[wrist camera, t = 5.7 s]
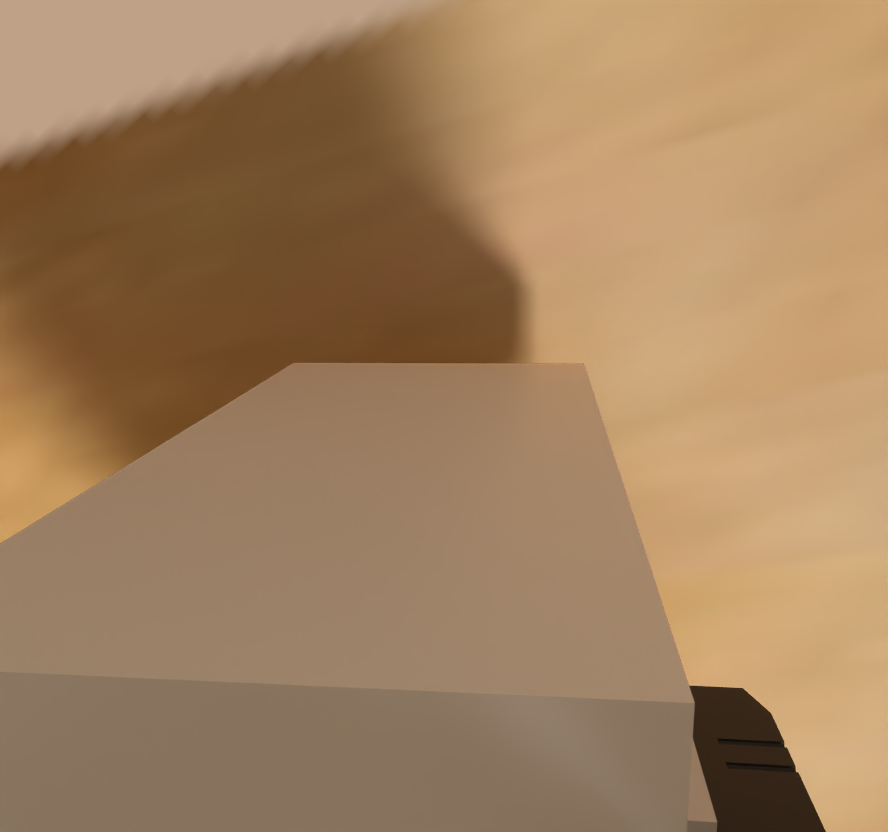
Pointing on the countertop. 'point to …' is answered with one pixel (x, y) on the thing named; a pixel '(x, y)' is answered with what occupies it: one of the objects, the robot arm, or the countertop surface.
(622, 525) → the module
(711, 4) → the countertop surface
